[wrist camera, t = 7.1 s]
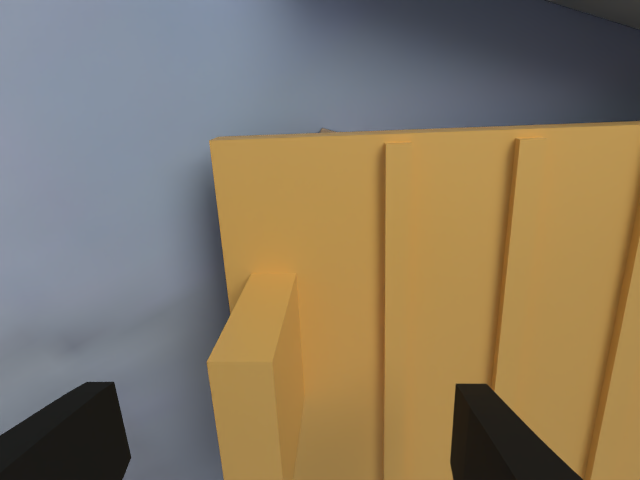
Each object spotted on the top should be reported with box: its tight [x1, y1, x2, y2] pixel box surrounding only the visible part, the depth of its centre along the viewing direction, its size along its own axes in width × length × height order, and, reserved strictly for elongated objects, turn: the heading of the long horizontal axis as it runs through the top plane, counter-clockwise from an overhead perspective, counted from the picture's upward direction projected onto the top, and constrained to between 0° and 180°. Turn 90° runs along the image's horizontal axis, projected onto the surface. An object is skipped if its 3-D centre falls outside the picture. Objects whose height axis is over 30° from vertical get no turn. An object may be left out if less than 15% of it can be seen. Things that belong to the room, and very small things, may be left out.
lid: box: [207, 121, 640, 480], centre depth 11 cm, size 15×11×6 cm
